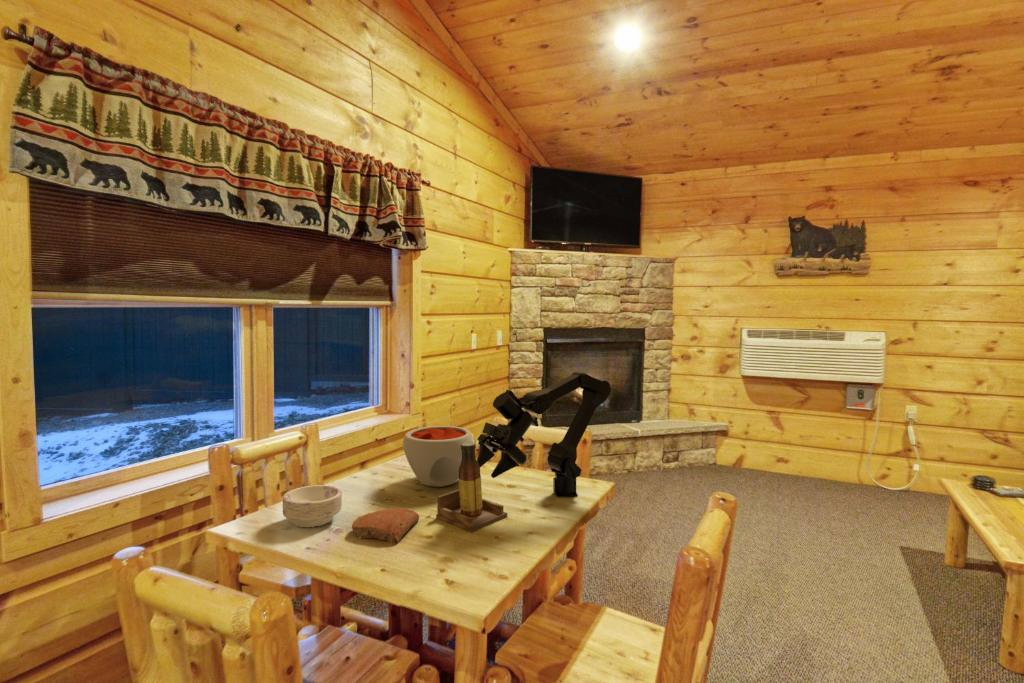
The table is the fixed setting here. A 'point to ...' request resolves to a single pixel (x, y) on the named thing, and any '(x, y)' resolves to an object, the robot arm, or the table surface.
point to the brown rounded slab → (385, 524)
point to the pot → (436, 453)
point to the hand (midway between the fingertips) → (483, 472)
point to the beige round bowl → (312, 505)
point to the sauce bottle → (470, 481)
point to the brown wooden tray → (452, 514)
